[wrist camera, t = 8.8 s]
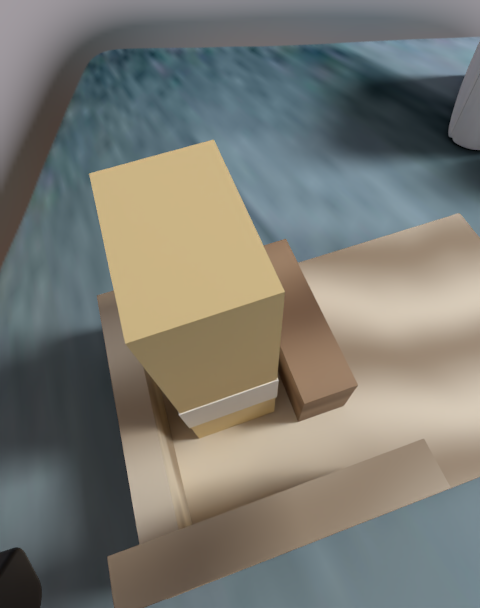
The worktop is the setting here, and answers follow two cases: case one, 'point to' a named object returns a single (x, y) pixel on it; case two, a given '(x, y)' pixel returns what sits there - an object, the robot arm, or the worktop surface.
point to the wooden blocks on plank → (311, 414)
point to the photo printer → (468, 108)
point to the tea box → (193, 285)
